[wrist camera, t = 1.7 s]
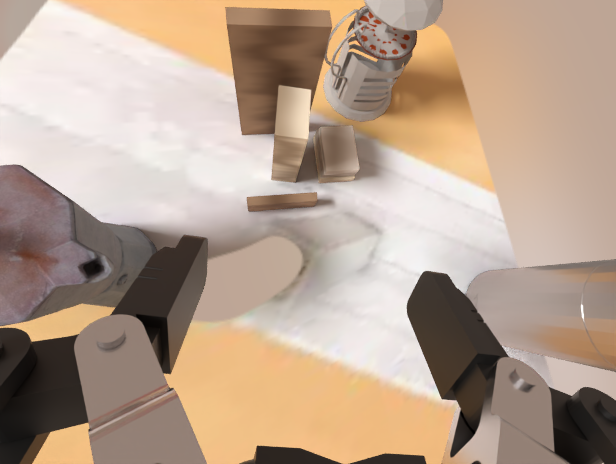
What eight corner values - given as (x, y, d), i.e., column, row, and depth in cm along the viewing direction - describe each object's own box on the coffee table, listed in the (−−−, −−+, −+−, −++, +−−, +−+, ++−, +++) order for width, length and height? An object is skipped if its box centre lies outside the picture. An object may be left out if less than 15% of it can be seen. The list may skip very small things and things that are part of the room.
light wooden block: (297, 145, 38) (311, 89, 28) (295, 182, 37) (308, 139, 27) (274, 142, 38) (278, 85, 27) (271, 179, 37) (274, 134, 26)
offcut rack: (303, 121, 39) (329, 10, 24) (313, 206, 37) (350, 145, 22) (240, 123, 38) (225, 7, 22) (248, 211, 36) (237, 150, 20)
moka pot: (175, 320, 32) (44, 365, 13) (20, 302, 31) (-404, 322, 11) (194, 235, 34) (104, 162, 15) (49, 213, 33) (-267, 98, 13)
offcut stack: (345, 138, 40) (353, 123, 36) (352, 180, 39) (360, 169, 35) (313, 139, 39) (317, 124, 35) (318, 183, 38) (324, 172, 34)
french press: (403, 108, 42) (598, -144, 18) (330, 135, 39) (438, -115, 15) (372, 50, 43) (514, -263, 19) (299, 72, 40) (353, -254, 16)
